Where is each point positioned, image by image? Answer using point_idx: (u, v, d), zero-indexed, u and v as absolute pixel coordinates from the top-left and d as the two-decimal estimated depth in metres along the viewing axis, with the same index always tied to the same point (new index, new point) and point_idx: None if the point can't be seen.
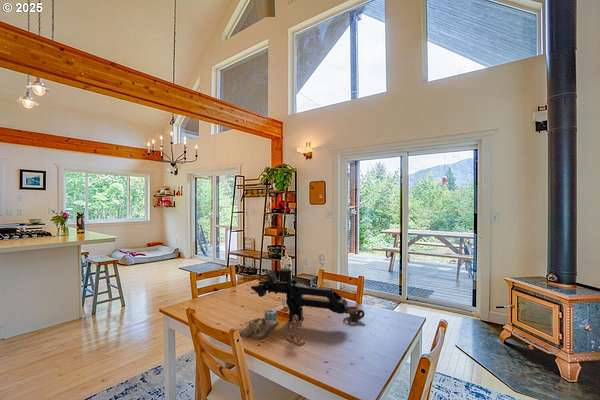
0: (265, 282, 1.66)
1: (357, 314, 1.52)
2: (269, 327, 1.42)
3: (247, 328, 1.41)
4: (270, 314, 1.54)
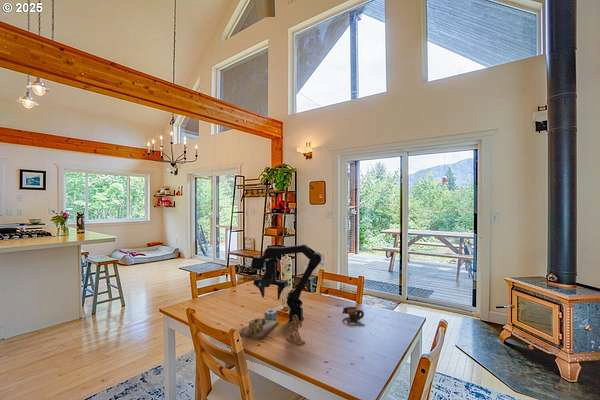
0: (262, 290, 1.58)
1: (356, 314, 1.51)
2: (269, 327, 1.42)
3: (247, 328, 1.41)
4: (270, 314, 1.54)
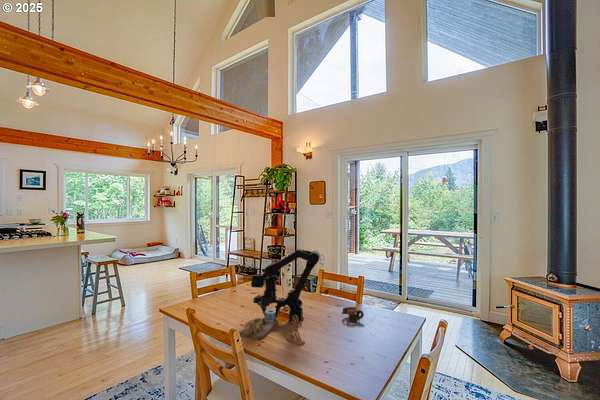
0: (264, 308, 1.57)
1: (356, 315, 1.51)
2: (269, 327, 1.42)
3: (247, 328, 1.41)
4: (270, 314, 1.54)
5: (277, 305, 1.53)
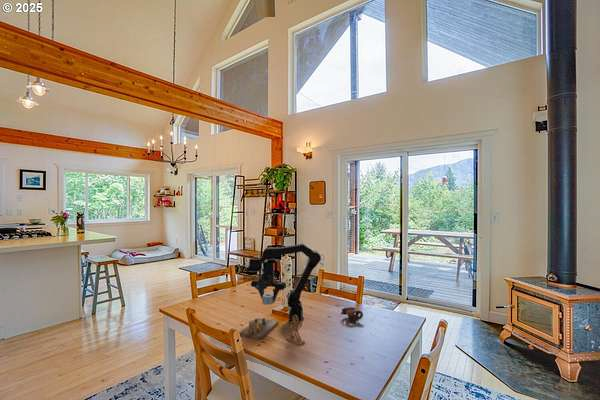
0: (261, 291, 1.54)
1: (355, 315, 1.51)
2: (269, 327, 1.42)
3: (247, 328, 1.41)
4: (268, 298, 1.51)
5: (275, 288, 1.50)
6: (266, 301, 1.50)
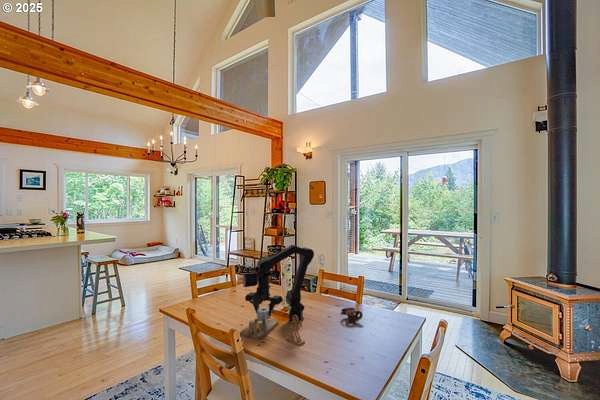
0: (256, 306, 1.47)
1: (355, 315, 1.50)
2: (269, 327, 1.42)
3: (247, 328, 1.41)
4: (263, 313, 1.44)
5: (270, 303, 1.43)
6: (261, 316, 1.44)
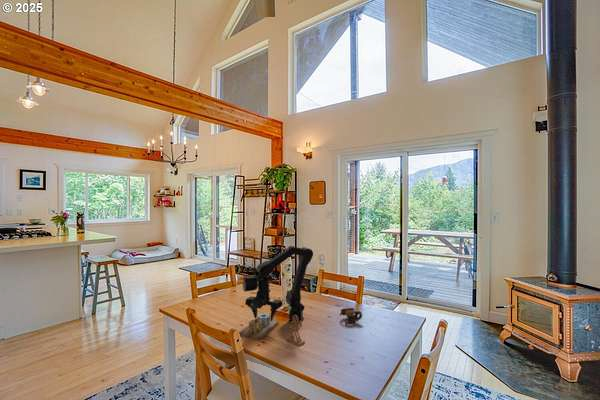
0: (255, 310, 1.48)
1: (354, 316, 1.50)
2: (269, 327, 1.42)
3: (247, 328, 1.41)
4: (263, 319, 1.44)
5: None
6: None
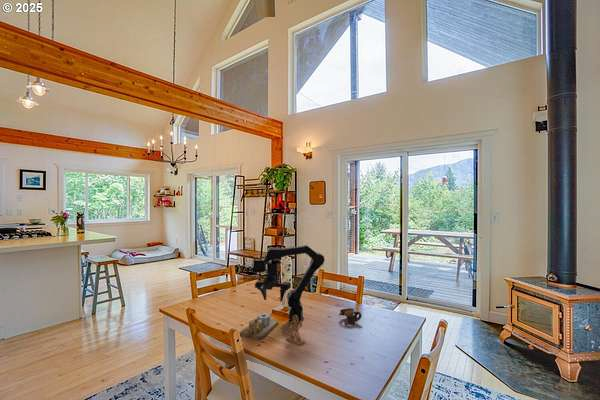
0: (264, 292, 1.54)
1: (354, 316, 1.49)
2: (269, 327, 1.42)
3: (247, 328, 1.41)
4: (263, 319, 1.44)
5: None
6: None
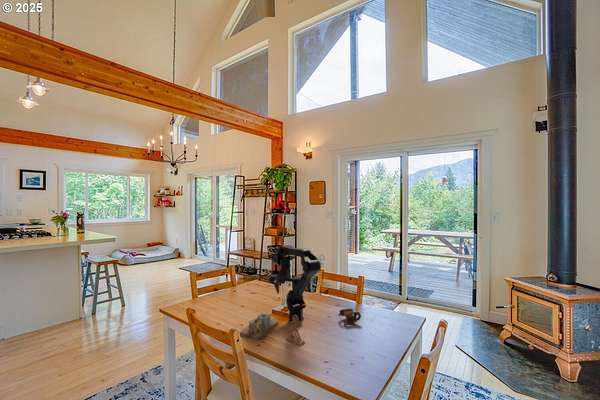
0: (277, 286, 1.64)
1: (353, 316, 1.49)
2: (269, 327, 1.42)
3: (247, 328, 1.41)
4: (263, 319, 1.44)
5: None
6: None
